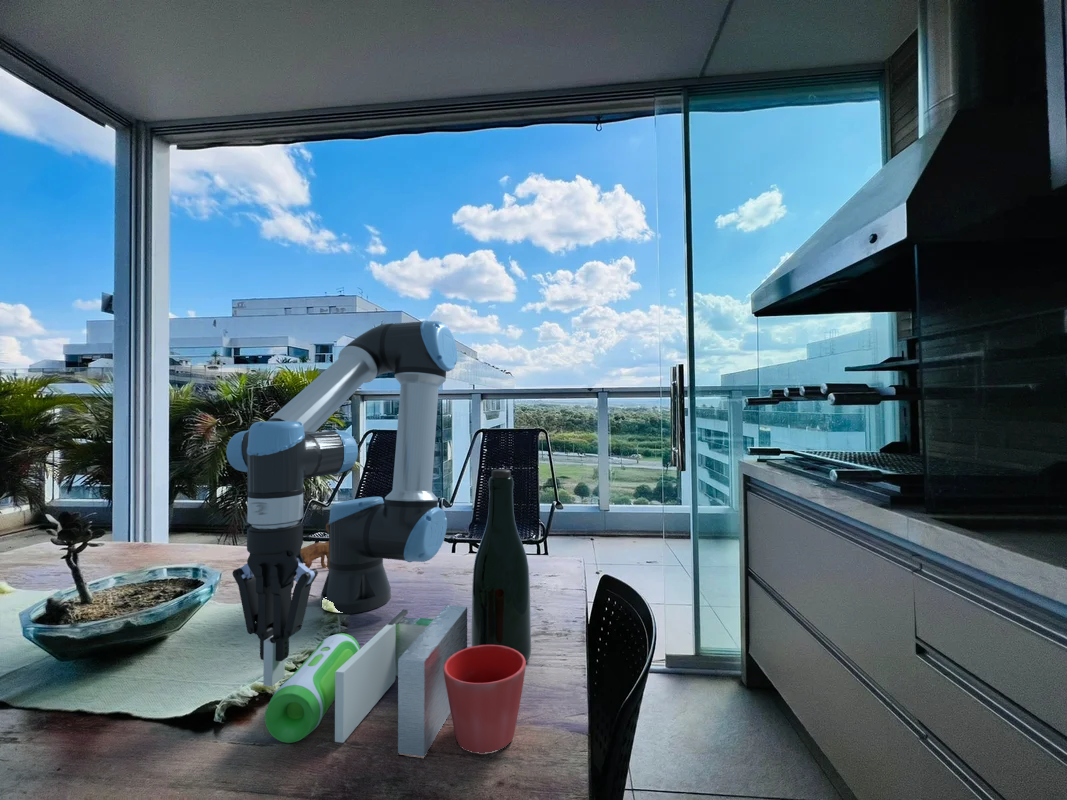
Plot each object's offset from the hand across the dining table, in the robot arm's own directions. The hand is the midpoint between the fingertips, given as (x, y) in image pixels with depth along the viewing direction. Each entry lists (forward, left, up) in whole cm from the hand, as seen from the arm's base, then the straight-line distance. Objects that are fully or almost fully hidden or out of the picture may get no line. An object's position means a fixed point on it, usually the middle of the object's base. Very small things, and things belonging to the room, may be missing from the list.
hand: (274, 680), depth 74 cm
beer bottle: (+31, +18, -3) cm, 36 cm away
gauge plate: (+15, +3, -3) cm, 16 cm away
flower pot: (+33, -2, -3) cm, 34 cm away
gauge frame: (+20, +2, -3) cm, 21 cm away
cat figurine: (-31, +53, -3) cm, 62 cm away
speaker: (+7, 0, -3) cm, 8 cm away
